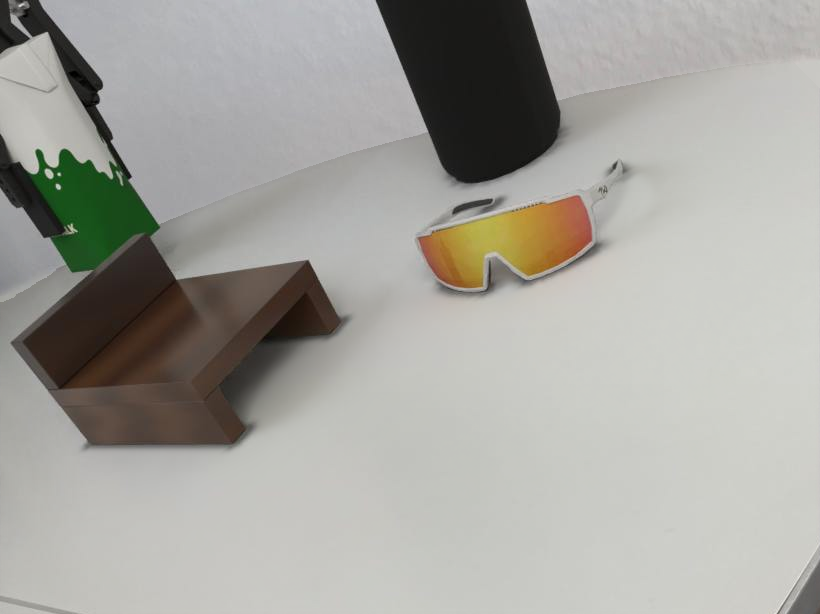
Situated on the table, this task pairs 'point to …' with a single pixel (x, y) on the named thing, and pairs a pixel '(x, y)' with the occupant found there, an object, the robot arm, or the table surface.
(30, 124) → the milk carton
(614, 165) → the sunglasses
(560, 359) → the table surface
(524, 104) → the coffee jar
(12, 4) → the robot arm
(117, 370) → the stand
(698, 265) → the table surface
